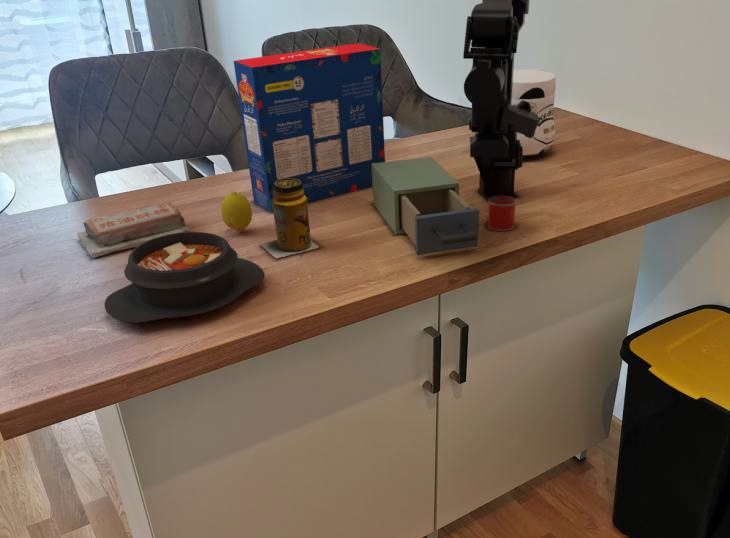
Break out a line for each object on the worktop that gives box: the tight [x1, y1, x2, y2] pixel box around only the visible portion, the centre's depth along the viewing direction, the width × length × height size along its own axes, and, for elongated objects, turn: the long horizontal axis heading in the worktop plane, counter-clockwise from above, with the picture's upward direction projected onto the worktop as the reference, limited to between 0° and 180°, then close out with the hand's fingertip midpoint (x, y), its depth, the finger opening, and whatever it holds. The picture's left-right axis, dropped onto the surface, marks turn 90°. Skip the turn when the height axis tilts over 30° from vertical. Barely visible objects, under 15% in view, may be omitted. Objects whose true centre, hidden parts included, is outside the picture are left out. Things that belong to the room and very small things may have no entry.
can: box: [487, 195, 517, 232], centre depth 138 cm, size 5×5×5 cm
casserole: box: [103, 231, 265, 324], centre depth 114 cm, size 25×19×8 cm
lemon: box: [220, 191, 253, 233], centre depth 136 cm, size 6×6×8 cm
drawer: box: [398, 188, 480, 256], centre depth 130 cm, size 21×11×7 cm, turn 18°
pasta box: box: [233, 42, 386, 214], centre depth 149 cm, size 28×8×28 cm, turn 127°
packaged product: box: [77, 201, 191, 259], centre depth 135 cm, size 18×5×10 cm
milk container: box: [511, 68, 556, 159], centre depth 173 cm, size 17×17×18 cm
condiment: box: [260, 178, 320, 259], centre depth 129 cm, size 7×8×12 cm
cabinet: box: [371, 156, 460, 235], centre depth 142 cm, size 17×13×9 cm
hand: (486, 181), depth 129 cm, fingers closed
